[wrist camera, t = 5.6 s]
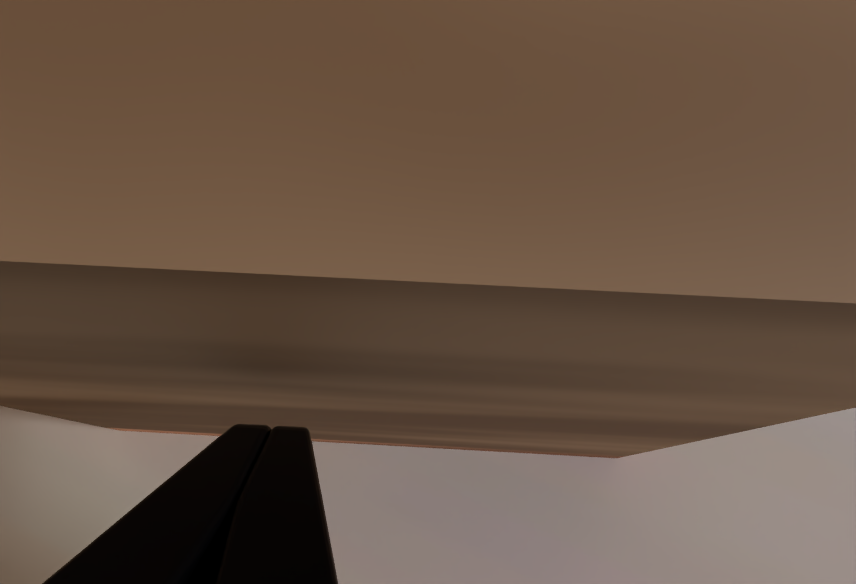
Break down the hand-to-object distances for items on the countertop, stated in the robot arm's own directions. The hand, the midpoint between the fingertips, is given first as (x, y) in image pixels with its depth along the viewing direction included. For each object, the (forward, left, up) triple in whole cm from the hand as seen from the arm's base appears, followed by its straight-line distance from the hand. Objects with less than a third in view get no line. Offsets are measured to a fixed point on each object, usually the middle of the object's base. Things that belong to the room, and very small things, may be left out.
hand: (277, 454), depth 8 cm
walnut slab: (+2, +1, -9) cm, 10 cm away
